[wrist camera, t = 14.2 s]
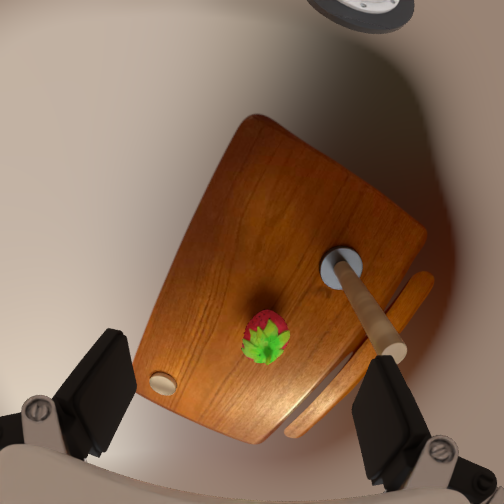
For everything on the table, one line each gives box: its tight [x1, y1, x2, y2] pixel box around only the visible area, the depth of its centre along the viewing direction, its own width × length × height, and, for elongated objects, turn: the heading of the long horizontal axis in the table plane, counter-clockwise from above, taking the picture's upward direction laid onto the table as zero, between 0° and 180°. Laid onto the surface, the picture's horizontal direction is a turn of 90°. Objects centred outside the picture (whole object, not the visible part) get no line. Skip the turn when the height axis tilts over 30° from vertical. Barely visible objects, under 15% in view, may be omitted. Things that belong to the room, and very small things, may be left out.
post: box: [319, 246, 407, 364], centre depth 29 cm, size 6×6×20 cm
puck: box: [150, 373, 177, 395], centre depth 47 cm, size 5×5×1 cm
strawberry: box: [241, 309, 290, 365], centre depth 37 cm, size 6×7×10 cm
